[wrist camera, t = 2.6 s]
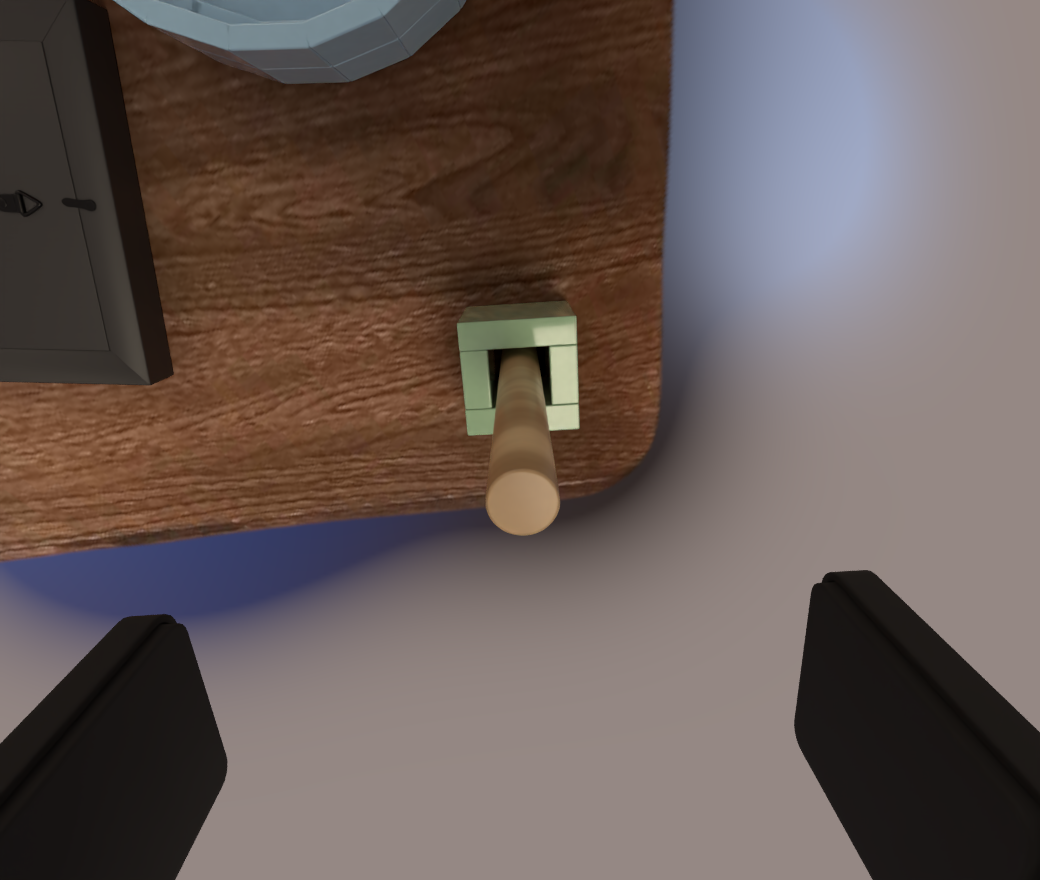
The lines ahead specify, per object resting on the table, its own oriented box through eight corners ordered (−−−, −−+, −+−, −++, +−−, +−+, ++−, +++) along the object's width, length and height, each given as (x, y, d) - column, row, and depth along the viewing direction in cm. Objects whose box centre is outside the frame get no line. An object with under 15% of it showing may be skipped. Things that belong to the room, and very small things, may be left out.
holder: (466, 306, 29) (456, 323, 25) (567, 300, 29) (576, 315, 24) (474, 403, 31) (467, 436, 26) (570, 397, 31) (579, 429, 26)
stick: (515, 328, 30) (513, 455, 14) (544, 348, 30) (575, 494, 14) (495, 358, 30) (470, 512, 14) (524, 377, 31) (532, 549, 15)
